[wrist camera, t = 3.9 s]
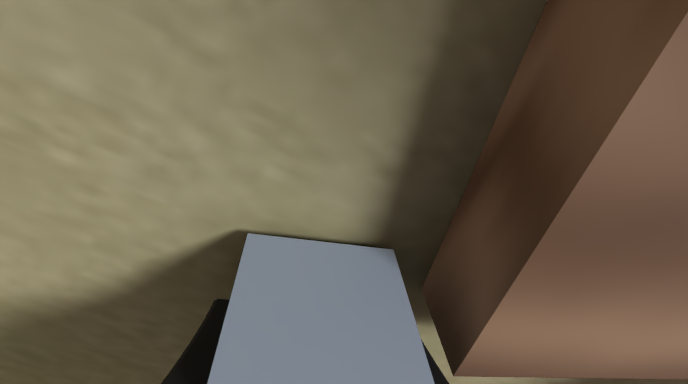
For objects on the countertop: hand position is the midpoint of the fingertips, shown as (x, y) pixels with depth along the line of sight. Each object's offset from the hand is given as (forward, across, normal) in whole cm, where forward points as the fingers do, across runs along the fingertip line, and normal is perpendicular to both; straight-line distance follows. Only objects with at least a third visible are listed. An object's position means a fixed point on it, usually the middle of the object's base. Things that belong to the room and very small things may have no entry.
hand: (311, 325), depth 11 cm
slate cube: (+1, 0, 0) cm, 1 cm away
